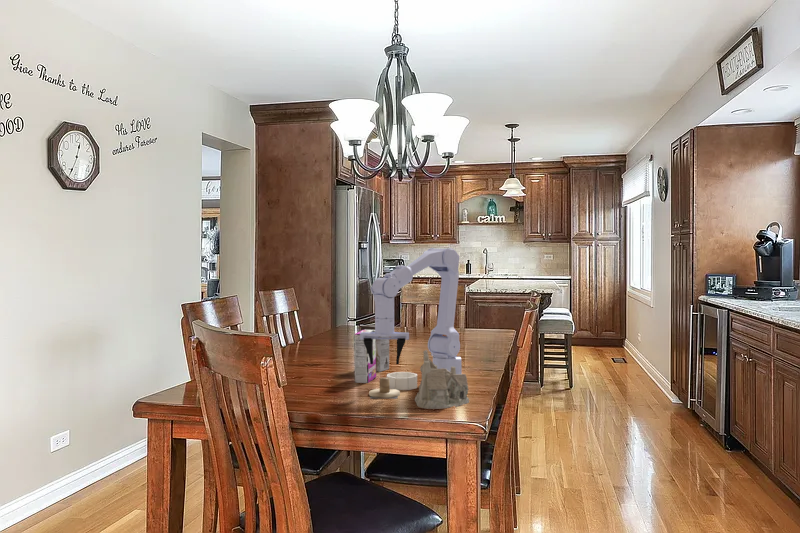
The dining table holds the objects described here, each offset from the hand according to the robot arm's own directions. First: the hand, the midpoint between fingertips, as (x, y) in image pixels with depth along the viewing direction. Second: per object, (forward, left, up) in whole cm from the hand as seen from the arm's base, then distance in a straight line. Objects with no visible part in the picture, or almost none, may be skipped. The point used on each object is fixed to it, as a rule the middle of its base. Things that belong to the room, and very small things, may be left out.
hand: (384, 363), depth 179 cm
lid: (0, 0, -9) cm, 9 cm away
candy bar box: (+7, -22, -10) cm, 25 cm away
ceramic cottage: (-17, +9, -10) cm, 21 cm away
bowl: (-5, -11, -10) cm, 15 cm away
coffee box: (+5, -42, -10) cm, 43 cm away
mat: (0, 0, -10) cm, 10 cm away
